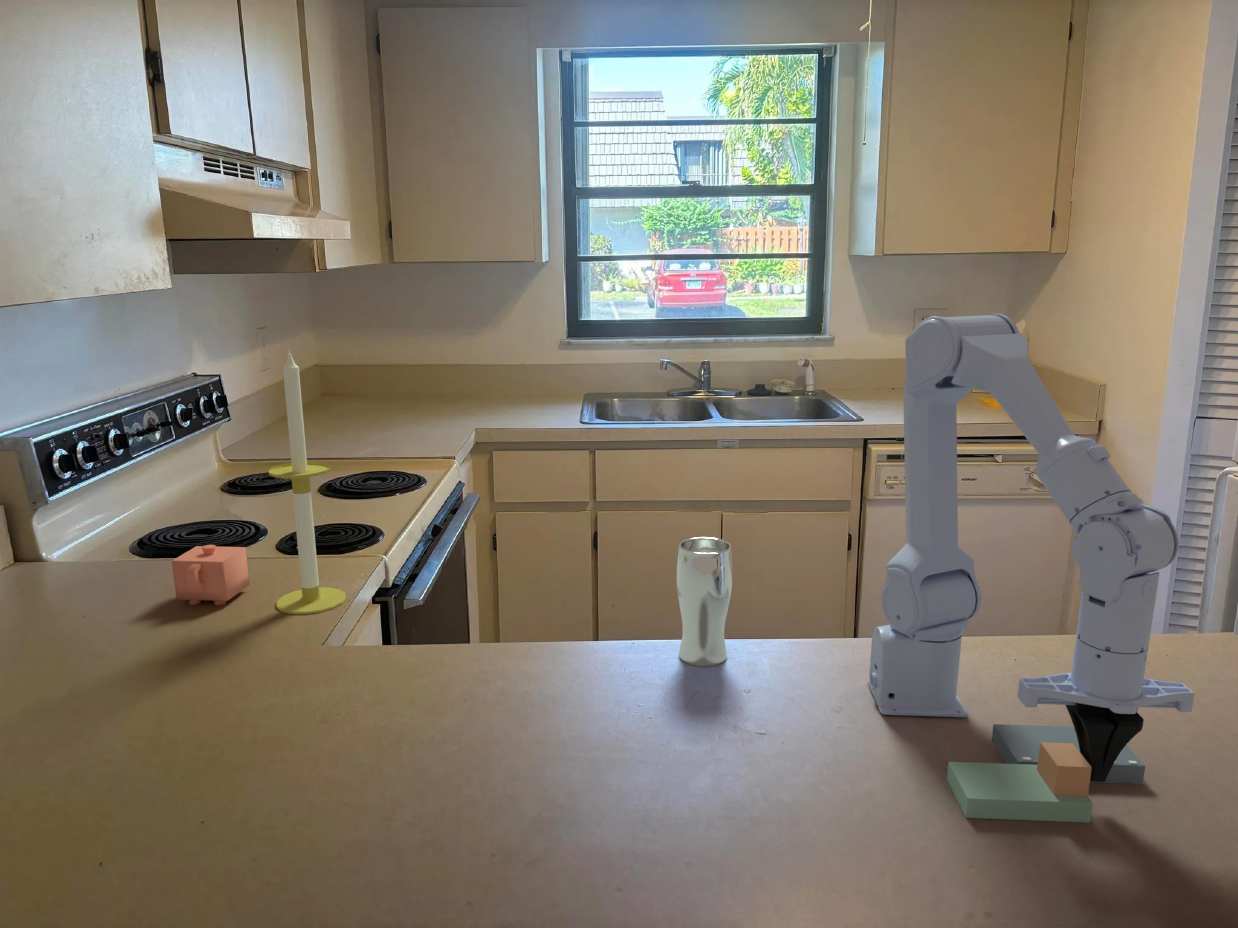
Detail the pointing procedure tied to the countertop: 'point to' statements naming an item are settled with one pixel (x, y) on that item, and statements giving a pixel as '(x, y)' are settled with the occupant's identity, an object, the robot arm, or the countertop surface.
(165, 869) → the countertop surface
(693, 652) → the beer glass
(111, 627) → the countertop surface
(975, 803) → the pale green flat slab
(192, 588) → the pink cube teapot
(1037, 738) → the white-dotted slate slab
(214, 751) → the countertop surface
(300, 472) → the candle
